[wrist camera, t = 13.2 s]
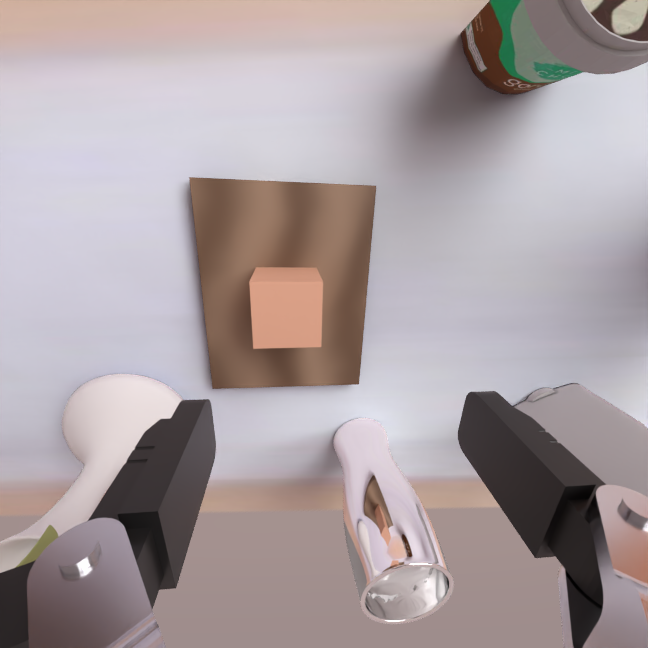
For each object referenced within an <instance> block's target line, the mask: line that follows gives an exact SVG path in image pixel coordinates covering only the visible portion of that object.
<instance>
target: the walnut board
mask: <svg viewBox="0 0 648 648" xmlns="http://www.w3.org/2000/svg"><path fill="white" fill-rule="evenodd" d="M189 178H190V187H191V197H192V206H193V215H194V224H195V233H196V242H197V251H198V260H199V269H200V278H201V287H202V296H203V305H204V314H205V324H206V333H207V342H208V351H209V360H210V369H211V378H212V387H213V389H220V388H253V387H285V386H318V385H351V384H359V376H360V365H361V353H362V342H363V330H364V319H365V307H366V296H367V285H368V273H369V262H370V250H371V239H372V228H373V216H374V205H375V193H376V186H367V185H345V184H323V183H301V182H279V181H257V180H235V179H213V178H191V177H189ZM256 267H288V268H317V270H318V272H319V274H320V276H321V278H322V280H323V303H322V340H321V347H306V348H262V349H253V335H252V318H251V302H250V285H249V281H250V279H251V277H252V275H253V273H254V271H255V269H256Z"/></svg>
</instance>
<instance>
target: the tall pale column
mask: <svg viewBox="0 0 648 648" xmlns="http://www.w3.org/2000/svg"><path fill="white" fill-rule="evenodd" d="M553 389H554V390H553ZM553 389H551V388H542V389H538V390H536V391H535V392H533V393H532V394H531V395H530V396H529V397H528V398H527V399H526V400H524V401H522V402H520V403H518V404H517V405H515V406H513V407H515V408H517V409H518V410H520V411H522V412H523V413H525V414H527V415H529V416H530V417H532V418H533V419H534V420H535V421H536V422H537V423H539V424H540V425H541V426H542V427H543V428H544V429H545V431H546V432H549V433H550V434H551V435H552V436H553V437H554V438H555V439H556V440H557V442H558V443H561V444H562V445H563V446H564V447H565V448H566V449H567V450H569V451H570V452H571V453H572V454H573V455H574V456H575V457H576V458H577V459H579V460H580V461H581V462H582V463H583V464H584V465H585V466H586V467H587V468H589V469H590V470H591V471H592V472H593V473H594V474H595V475H596V476H597V477H599V478H600V479H601V480H602V481H603V482H604V483H605V484H606V485H617V486H622V487H625V488H628V489H631V490H634V491H636V492H638V493H641V494H643V495H645V496H646V497H648V428H647V427H646V426H645V425H644V424H642V423H641V422H639V421H637V420H636V419H634V418H633V417H631V416H629V415H628V414H626V413H625V412H623V411H621V410H620V409H618V408H617V407H615V406H613V405H612V404H610V403H609V402H607V401H605V400H604V399H602V398H600V397H599V396H597V395H596V394H594V393H592V392H591V391H589V390H588V389H586V388H584V387H583V386H581V385H580V384H576V383H571V384H567V385H564V386H560V387H557V388H553Z"/></svg>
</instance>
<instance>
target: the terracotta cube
mask: <svg viewBox="0 0 648 648" xmlns="http://www.w3.org/2000/svg"><path fill="white" fill-rule="evenodd" d="M249 285H250V302H251V318H252V335H253V349H262V348H306V347H321V340H322V303H323V280H322V278H321V276H320V274H319V272H318V270H317V268H288V267H256V269H255V271H254V273H253V275H252V277H251V279H250V281H249Z"/></svg>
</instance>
